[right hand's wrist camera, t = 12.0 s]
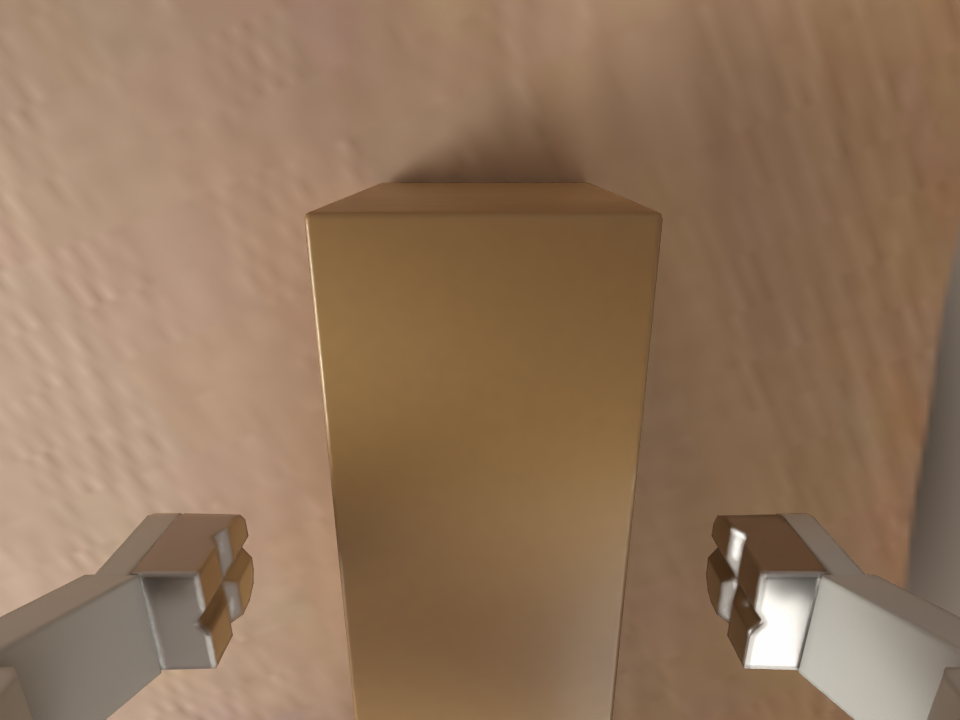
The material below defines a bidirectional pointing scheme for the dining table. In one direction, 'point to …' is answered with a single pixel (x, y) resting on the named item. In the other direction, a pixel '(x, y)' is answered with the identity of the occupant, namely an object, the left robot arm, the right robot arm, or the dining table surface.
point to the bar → (483, 439)
